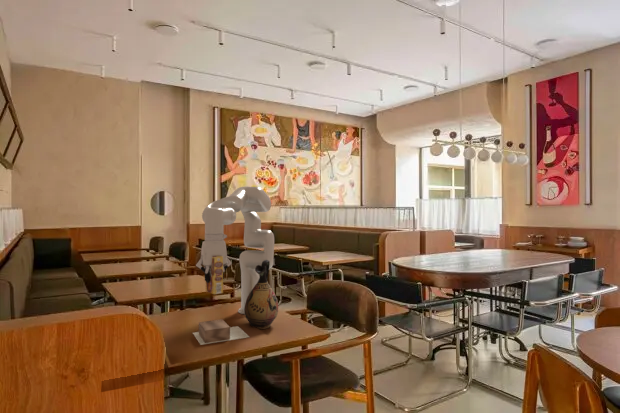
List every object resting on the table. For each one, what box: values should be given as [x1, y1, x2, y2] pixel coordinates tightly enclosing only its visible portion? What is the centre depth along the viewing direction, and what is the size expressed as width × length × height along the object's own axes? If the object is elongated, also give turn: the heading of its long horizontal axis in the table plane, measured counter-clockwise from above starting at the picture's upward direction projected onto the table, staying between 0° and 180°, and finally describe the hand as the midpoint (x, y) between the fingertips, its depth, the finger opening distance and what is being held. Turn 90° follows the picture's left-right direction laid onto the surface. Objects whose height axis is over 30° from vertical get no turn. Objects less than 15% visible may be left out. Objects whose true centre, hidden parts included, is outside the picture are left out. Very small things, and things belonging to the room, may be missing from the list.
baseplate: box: [192, 325, 250, 346], centre depth 167 cm, size 20×16×1 cm
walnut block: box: [198, 318, 231, 344], centre depth 164 cm, size 10×12×5 cm
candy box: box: [205, 256, 224, 295], centre depth 164 cm, size 9×4×15 cm, turn 38°
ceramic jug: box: [244, 260, 279, 330], centre depth 182 cm, size 17×15×30 cm
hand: (214, 281), depth 164 cm, fingers closed on candy box, 4 cm apart
